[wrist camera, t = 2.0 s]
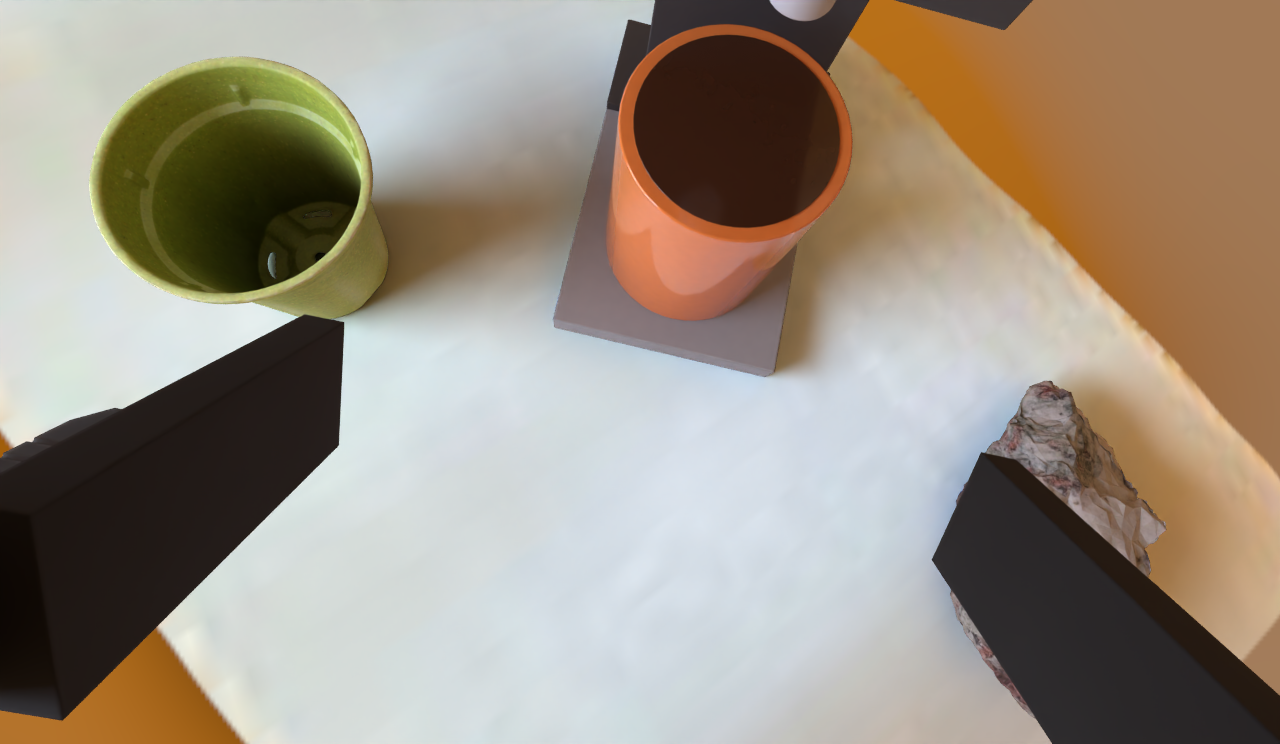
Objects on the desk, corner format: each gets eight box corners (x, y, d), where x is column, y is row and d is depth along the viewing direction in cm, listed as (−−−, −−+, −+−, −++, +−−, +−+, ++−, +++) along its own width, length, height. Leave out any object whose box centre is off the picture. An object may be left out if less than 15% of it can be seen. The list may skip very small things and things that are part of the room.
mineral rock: (999, 372, 33) (1062, 355, 29) (1131, 449, 33) (1213, 444, 29) (880, 630, 30) (930, 654, 26) (1024, 716, 30) (1098, 754, 26)
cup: (590, 177, 31) (597, 35, 22) (747, 155, 32) (821, 10, 23) (623, 334, 30) (645, 259, 20) (785, 305, 31) (880, 221, 21)
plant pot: (410, 159, 32) (350, 41, 24) (439, 335, 31) (386, 276, 22) (215, 186, 31) (79, 72, 22) (236, 371, 29) (98, 323, 21)
